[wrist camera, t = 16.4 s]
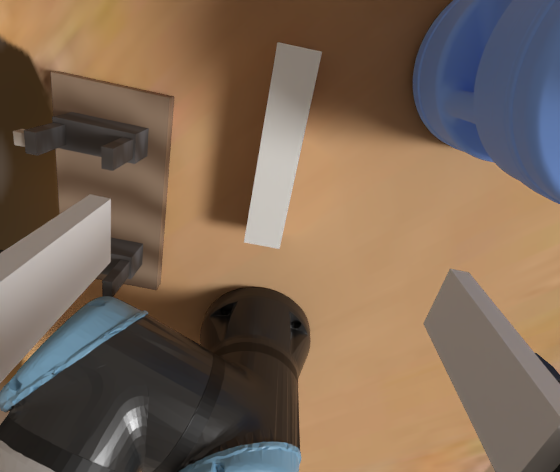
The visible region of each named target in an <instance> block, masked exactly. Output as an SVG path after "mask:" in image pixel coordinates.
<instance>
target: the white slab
mask: <svg viewBox="0 0 560 472" xmlns="http://www.w3.org/2000/svg"><path fill="white" fill-rule="evenodd" d="M321 55H322V52H321V51H316V50H312V49H307V48H303V47H298V46H293V45H289V44H284V43H280V42H277V48H276V54H275V60H274V66H273V72H272V78H271V84H270V90H269V96H268V102H267V108H266V114H265V120H264V126H263V132H262V138H261V144H260V150H259V156H258V162H257V168H256V174H255V180H254V186H253V192H252V197H251V203H250V209H249V215H248V221H247V227H246V233H245V239H244V242H245V243H251V244H256V245H261V246H267V247H272V248H277V249H279V248H280V244H281V239H282V234H283V230H284V225H285V221H286V216H287V211H288V207H289V202H290V198H291V193H292V188H293V184H294V179H295V174H296V170H297V165H298V161H299V156H300V151H301V147H302V142H303V138H304V133H305V128H306V124H307V119H308V115H309V110H310V105H311V101H312V96H313V92H314V87H315V82H316V78H317V73H318V69H319V64H320V59H321Z"/></svg>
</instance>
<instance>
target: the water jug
mask: <svg viewBox="0 0 560 472" xmlns="http://www.w3.org/2000/svg"><path fill="white" fill-rule="evenodd" d="M413 95H414V101H415V105H416V108H417V111H418V113H419V116H420V118H421V120H422V121H423V123H424V124H425V126H426V127H427V128H428V130H429V131H430V132H431V133H432V134H433V135H434V136H435V137H437V138H438V139H439V140H441V141H442V142H444V143H446V144H447V145H449V146H451V147H453V148H455V149H458V150H461V151H464V152H466V153H468V154H470V155H472V156H474V157H476V158H479V159H482V160H485V161H490V162H495V163H496V164H497V165H498V166H499V167H500V168H501V169H502V170H503V171H504V172H506V173H507V174H509V175H510V176H512V177H514V178H515V179H517V180H519V181H521V182H522V183H523V184H525V185H526V186H527V187H529V188H530V189H532V190H533V191H535V192H537V193H539V194H541V195H542V196H544V197H546V198H548V199H550V200H552V201H554V202H556V203H558V204H560V0H453V1H452V2H451V3H450V4H449V5H448V6H447V7H446V8H445V9H444V10H443V11H442V12H441V13H440V14H439V15H438V17H437V18H436V19H435V21H434V22H433V24H432V25H431V27H430V28H429V30H428V31H427V33H426V35H425V37H424V39H423V41H422V43H421V46H420V48H419V51H418V54H417V57H416V61H415V65H414V71H413Z"/></svg>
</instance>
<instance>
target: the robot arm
mask: <svg viewBox="0 0 560 472" xmlns="http://www.w3.org/2000/svg"><path fill="white" fill-rule="evenodd" d="M110 262H111V199H110V198H105V197H101V196H96V195H91V194H90V195H88V196H87V197H85V198H84V199H82V200H81V201H79V202H78V203H76V204H74V205H73V206H71V207H70V208H68V209H67V210H65V211H64V212H62V213H61V214H59V215H58V216H56V217H55V218H53V219H52V220H50V221H49V222H47V223H46V224H44V225H43V226H41V227H40V228H38V229H37V230H35V231H33V232H32V233H30V234H29V235H27V236H26V237H24V238H23V239H21V240H20V241H18V242H17V243H15V244H14V245H12V246H11V247H9V248H7V249H6V250H0V383H1V382H2V381H3V379H4V378H5V377H6V376H7V375H8V374H9V373H10V372H11V371H12V370H13V368H14V367H15V366H16V365H17V364H18V363H19V362H20V361H21V360H22V359H23V358H24V356H25V355H26V354H27V353H28V352H29V351H30V350H31V349H32V348H33V347H34V345H35V344H36V343H37V342H38V341H39V340H40V339H41V338H42V337H43V336H44V335H45V333H46V332H47V331H48V330H49V329H50V328H51V327H52V326H53V325H54V324H55V322H56V321H57V320H58V319H59V318H60V317H61V316H62V315H63V314H64V313H65V311H66V310H67V309H68V308H69V307H70V306H71V305H72V304H73V303H74V302H75V301H76V299H77V298H78V297H79V296H80V295H81V294H82V293H83V292H84V291H85V290H86V288H87V287H88V286H89V285H90V284H91V283H92V282H93V281H94V280H95V279H96V278H97V276H98V275H99V274H100V273H101V272H102V271H103V270H104V269H105V268H106V267H107V265H108V264H109V263H110ZM423 324H424V326H425V328H426V330H427V332H428V334H429V336H430V338H431V340H432V342H433V344H434V346H435V348H436V350H437V352H438V354H439V357H440V359H441V361H442V363H443V365H444V367H445V369H446V371H447V373H448V375H449V377H450V379H451V381H452V383H453V385H454V388H455V390H456V392H457V394H458V396H459V398H460V400H461V402H462V404H463V406H464V408H465V410H466V412H467V414H468V416H469V418H470V421H471V423H472V425H473V427H474V429H475V431H476V433H477V435H478V437H479V439H480V441H481V443H482V445H483V447H484V449H485V451H486V454H487V456H488V458H489V460H490V462H491V464H492V466H493V468H494V470H495V472H560V375H559V373H558V372H557V371H556V370H555V369H554V367H553V366H551V365H550V364H549V363H548V362H546V361H545V360H544V359H543V358H542V357H540V356H539V355H538V354H537V353H534V352H533V351H532V349H531V348H530V347H529V346H528V344H527V343H526V342H525V341H524V340H523V338H522V337H521V336H520V335H519V333H518V332H517V331H516V330H515V328H514V327H513V326H512V325H511V324H510V322H509V321H508V320H507V319H506V317H505V316H504V315H503V314H502V313H501V311H500V310H499V309H498V308H497V306H496V305H495V304H494V303H493V301H492V300H491V299H490V298H489V297H488V295H487V294H486V293H485V292H484V290H483V289H482V288H481V287H480V286H479V284H478V283H477V282H476V281H475V279H474V278H473V277H472V276H471V274H470V273H469V272H464V271H459V270H454V269H450V270H449V272H448V274H447V276H446V278H445V280H444V282H443V284H442V286H441V289H440V291H439V293H438V295H437V297H436V299H435V301H434V303H433V305H432V307H431V309H430V311H429V313H428V315H427V317H426V319H425V321H424V323H423ZM200 343H201V345H199V344H197V343H195V342H194V341H192V340H190V339H189V338H187V337H185V336H183V335H182V334H180V333H178V332H177V331H175V330H173V329H171V328H170V327H168V326H166V325H165V324H163V323H161V322H160V321H158V320H156V319H154V318H153V317H151V316H149V315H148V312H147V311H145V310H144V311H141V310H139V309H137V308H135V307H133V306H131V305H129V304H127V303H125V302H123V301H121V300H119V299H117V298H114V297H111V296H103V297H99V298H96V299H94V300H92V301H90V302H89V303H87V304H86V305H84V306H83V307H82V308H81V309H80V310H78V311H77V312H76V313H75V314H74V315H73V316H72V317H70V318H69V319H68V320H67V321H66V322H65V323H64V324H63V325H62V326H61V327H60V328H59V329H58V330H57V331H55V332H54V333H53V334H52V335H51V336H50V337H49V338H48V339H47V340H46V341H45V342H44V343H43V344H42V345H41V346H40V347H39V348H38V350H37V351H36V352H35V353H34V354H33V355H32V356H31V357H30V358H29V359H28V360H27V361H26V362H25V363H24V364H23V366H22V367H21V368H20V369H19V370H18V371H17V374H15V375H14V377H13V378H12V379H11V380H10V381H9V383H7V384H6V385H5V386H4V387H3V389H2V390H1V392H0V408H1V411H4V412H8V411H10V412H9V414H8V416H7V417H6V418H5V420H4V421H3V422H2V423H1V425H0V472H299V464H300V461H301V454H300V453H301V452H300V435H299V402H298V378H299V375H300V373H301V370H302V368H303V365H304V363H305V360H306V358H307V356H308V353H309V348H310V328H309V323H308V320H307V317H306V315H305V314H304V312H303V311H302V309H301V308H300V307H299V306H298V305H297V304H296V303H295V302H294V301H293V300H291V299H290V298H289V297H287V296H285V295H283V294H281V293H279V292H276V291H273V290H270V289H265V288H242V289H238V290H234V291H231V292H229V293H227V294H225V295H223V296H221V297H220V298H219V299H217V300H216V301H215V302H214V303H213V304H212V305H211V306H210V308H209V309H208V311H207V313H206V315H205V318H204V321H203V324H202V327H201V332H200Z"/></svg>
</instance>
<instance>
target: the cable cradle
mask: <svg viewBox="0 0 560 472" xmlns="http://www.w3.org/2000/svg"><path fill="white" fill-rule="evenodd" d="M51 86H52V102H53V117H52V120H53V123H50V124H46V125H42V126H38V127H34V128H30V129H27V130H26V129H20V130H15V131H13V135H14V144H15V145H18V146H23V147H25V150H26V153H28V154H33V155H40V154H43V153H46V152H48V151H51V150H54V149H55V150H56V165H57V181H58V197H59V213H60V214H61V213H62V212H64V211H65V210H67V209H68V208H70V207H71V206H73V205H74V204H76V203H78V202H79V201H81V200H82V199H84V198H85V197H87V196H88V195H90V194H91V195H96V196H101V197H105V198H110V199H111V262H110V263H109V264H108V265H107V267H106V268H105V269H104V270H103V271H102V272H101V273H100V274H99V275H98V276H97V278H96V279H100V280H102V289H103V296H111V297H113V296H114V295H115V294H116V292H117V291H118V290H119V288H120V287H121V286H122V285H123V284H127V285H132V286H137V287H143V288H148V289H153V290H157V289H158V287H159V285H160V282H161V268H162V255H163V241H164V228H165V214H166V201H167V187H168V174H169V160H170V147H171V133H172V120H173V107H174V97H173V96H169V95H164V94H159V93H155V92H150V91H146V90H141V89H137V88H132V87H128V86H123V85H118V84H114V83H109V82H105V81H100V80H96V79H91V78H87V77H82V76H77V75H73V74H68V73H64V72H51Z"/></svg>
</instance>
